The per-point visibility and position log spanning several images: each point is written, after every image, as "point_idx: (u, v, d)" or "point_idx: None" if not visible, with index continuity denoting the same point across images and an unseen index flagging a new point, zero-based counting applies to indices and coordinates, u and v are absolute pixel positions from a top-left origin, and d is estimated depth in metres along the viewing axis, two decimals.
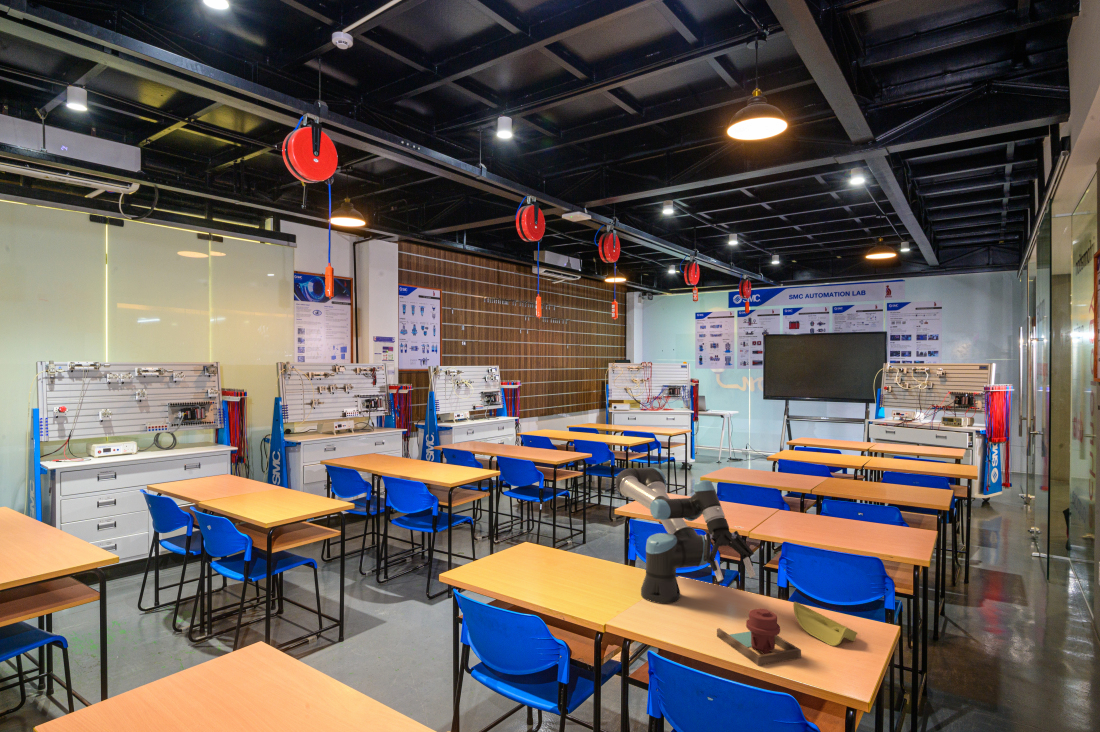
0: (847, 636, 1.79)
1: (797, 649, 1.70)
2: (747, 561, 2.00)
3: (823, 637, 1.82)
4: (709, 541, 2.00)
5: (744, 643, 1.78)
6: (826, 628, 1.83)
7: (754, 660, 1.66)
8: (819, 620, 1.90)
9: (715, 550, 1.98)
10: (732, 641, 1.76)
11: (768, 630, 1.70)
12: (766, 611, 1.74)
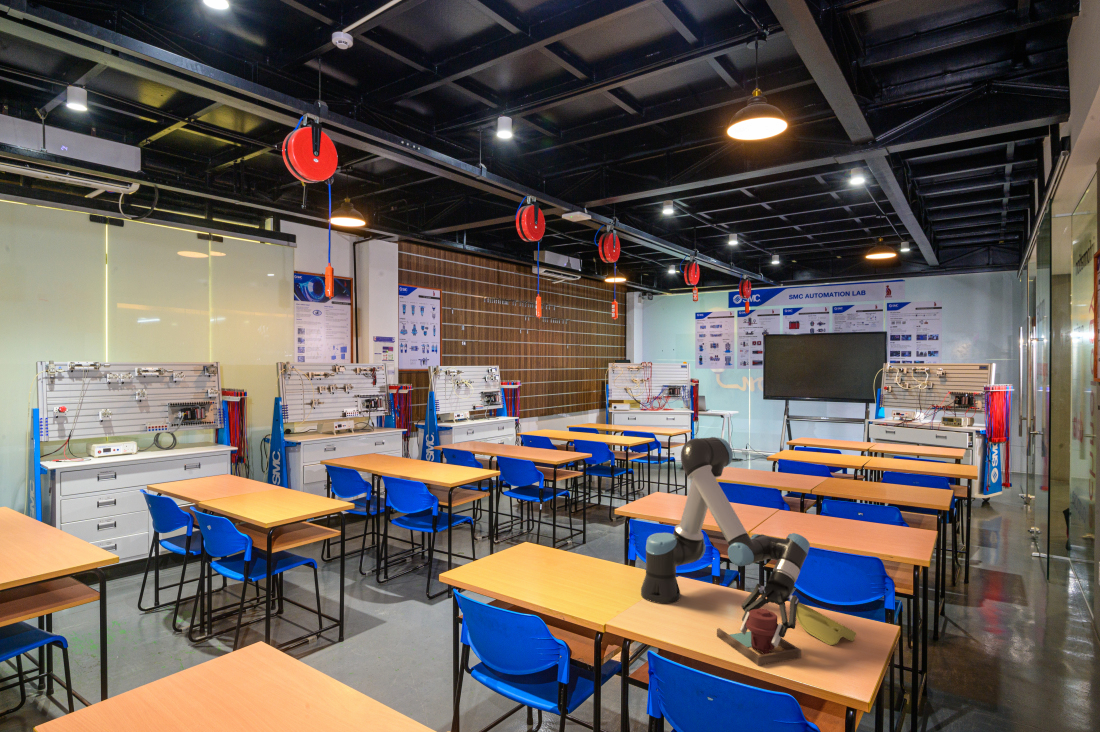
0: (845, 636, 1.79)
1: (797, 649, 1.70)
2: None
3: (821, 636, 1.83)
4: None
5: (744, 643, 1.78)
6: (825, 627, 1.84)
7: (754, 660, 1.66)
8: (819, 619, 1.91)
9: None
10: (732, 641, 1.76)
11: (768, 630, 1.70)
12: (766, 611, 1.74)
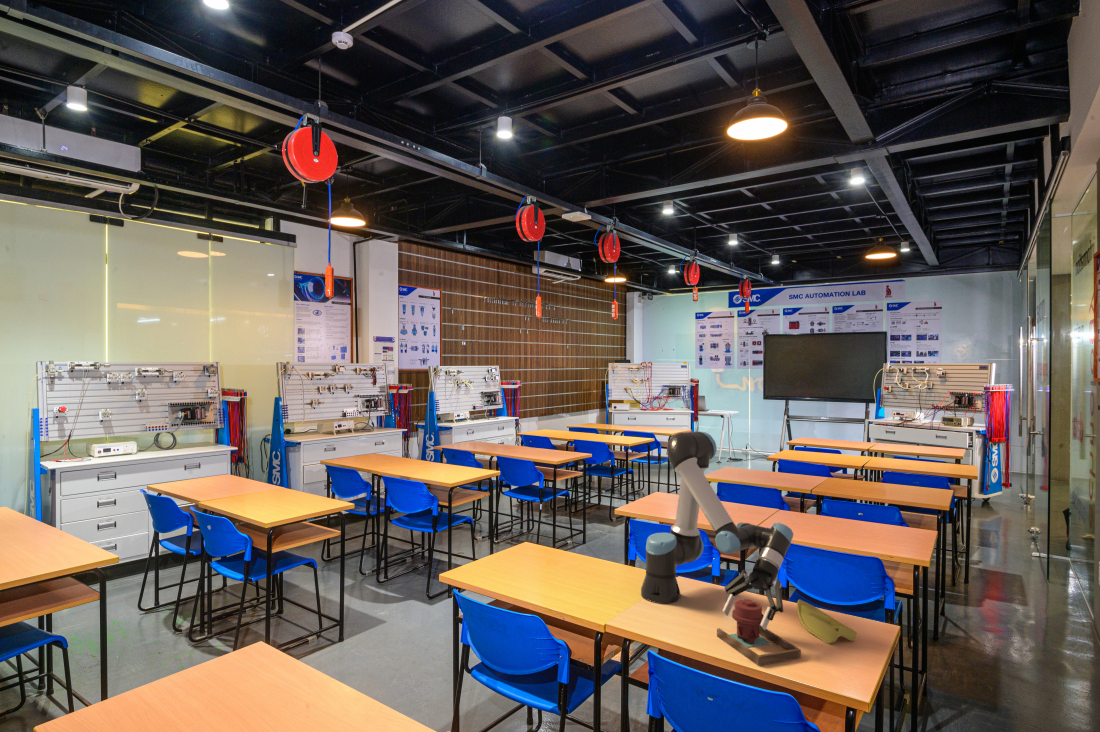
0: (844, 635, 1.80)
1: (797, 649, 1.70)
2: (732, 601, 1.88)
3: (820, 635, 1.84)
4: None
5: (744, 643, 1.78)
6: (824, 626, 1.85)
7: (754, 660, 1.66)
8: (821, 619, 1.91)
9: None
10: (732, 641, 1.76)
11: (753, 620, 1.77)
12: (751, 601, 1.81)
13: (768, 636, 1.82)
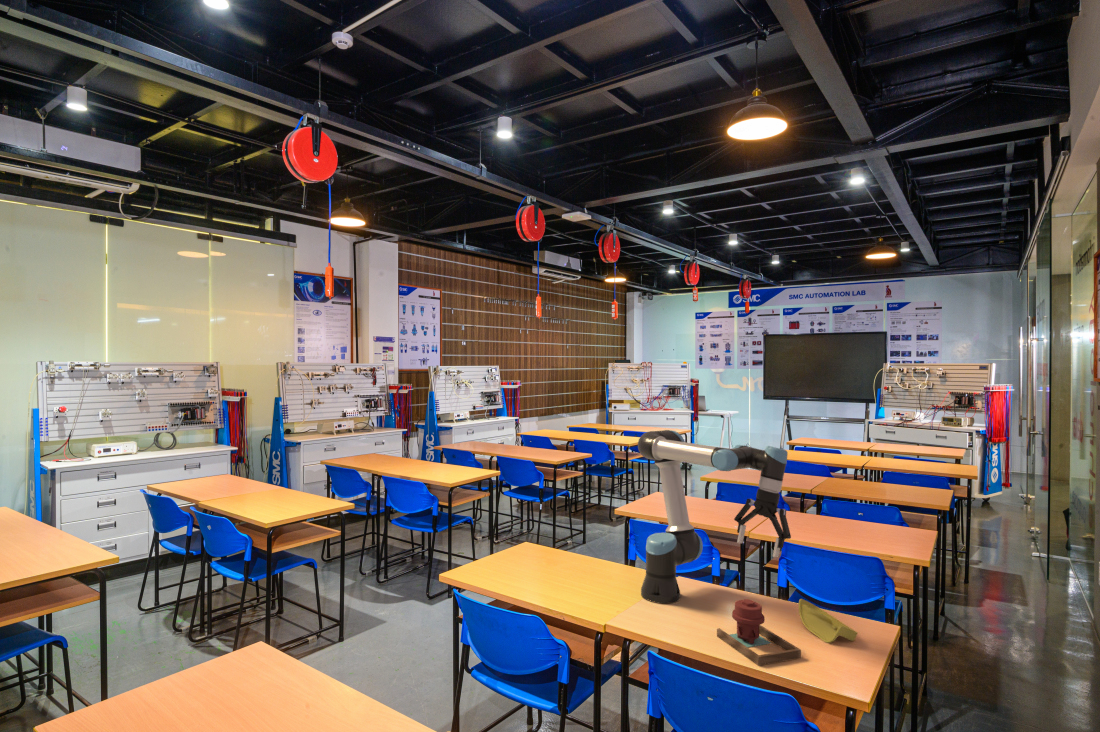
0: (843, 635, 1.80)
1: (797, 649, 1.70)
2: (744, 529, 2.01)
3: (820, 634, 1.84)
4: None
5: (744, 643, 1.78)
6: (824, 625, 1.85)
7: (754, 660, 1.66)
8: (823, 618, 1.92)
9: None
10: (732, 641, 1.76)
11: (753, 620, 1.77)
12: (751, 601, 1.81)
13: (768, 636, 1.82)
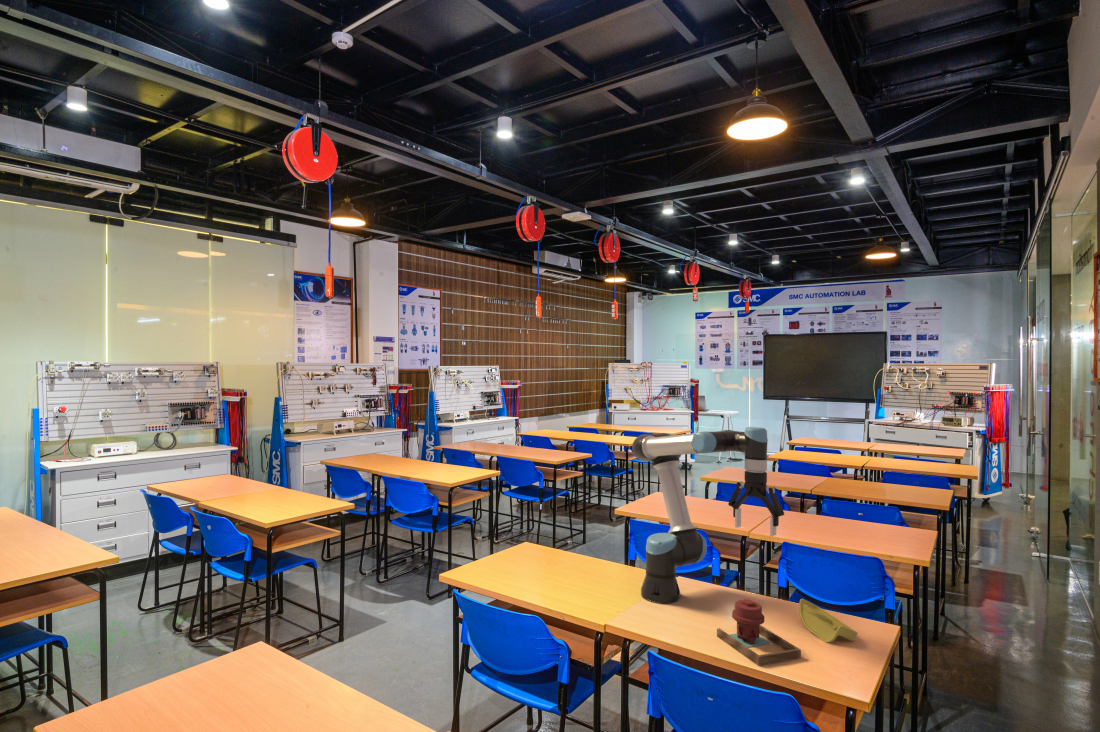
0: (843, 635, 1.80)
1: (797, 649, 1.70)
2: (740, 512, 2.02)
3: (820, 633, 1.85)
4: None
5: (744, 643, 1.78)
6: (824, 625, 1.85)
7: (754, 660, 1.66)
8: (823, 618, 1.92)
9: None
10: (732, 641, 1.76)
11: (753, 620, 1.77)
12: (751, 601, 1.81)
13: (768, 636, 1.82)
